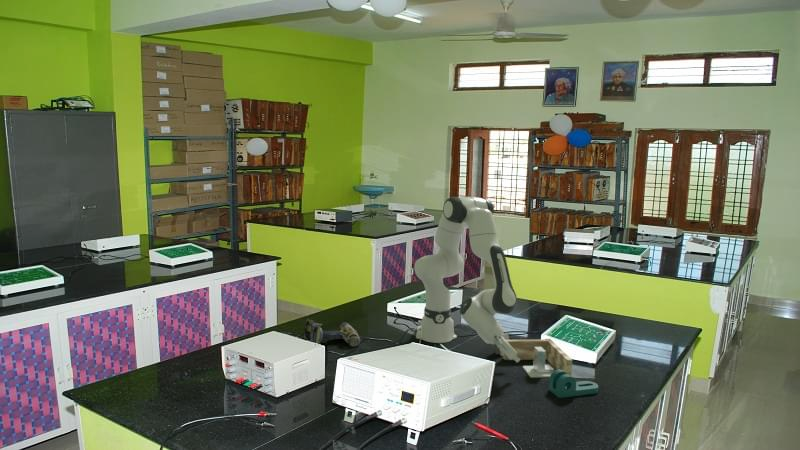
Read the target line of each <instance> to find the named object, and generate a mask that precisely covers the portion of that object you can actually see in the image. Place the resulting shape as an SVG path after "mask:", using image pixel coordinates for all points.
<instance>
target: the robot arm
mask: <svg viewBox="0 0 800 450" xmlns="http://www.w3.org/2000/svg"><path fill="white" fill-rule="evenodd" d="M494 209H495V208H494V204H493V202H492V201H491V200H490V199H488V198H485V197H478V196H451V197H448V198H447V199H446V200H445V201H444V203H443V207H442V214H441V217H440V219H439V222H438V224H437V229H436V232H435V236H434V243H435V244H436V246H437V247H439V251H438V253H436V254H429V255H428V254H427V255H425V256H422V257H420V258H418V259H416V261H415V263H414V268H413V269H414V273H415V275H416V277H417V278H418V279H420V281H422V284H423V286H424V291H425V307H424V310H423V316H422V319H421V320H418V323H417V324H418V326H417V327H416V328H417V329H416V334H415V339H418V340H423V341H424V342H426V343H427V342H428V343H436V344H444V343H449V342H451V341H452V340H455V339H457V337H458V335H457V334H455V331H454V329H455V327H454V323H455V322H454V320H453V318H452V317H451V316H452V315H451V314H452V309H451V297H452V296H451V295H452V294H451V291H450V289H449V288H448V287H446V286H445V284H444V279H445V278H449V277H454V276H456V275H457V276H458V274H460V273H462V272H463V270H464V267H465V262H464V258H463V257H462V255H461V254H460V244H461V241H462V237H463V233H464V229H465V225H467V226H468V234H469V244H470V245H469V246H470V249H471V252H472V253H473V254H474V255H475V256H476V257H477V258H479V259H483V260H485V261H486V262H487V263H488V264H489V265H490V267H491V270H492V271H491V272H492V276H493V281H494V288H488V289H487V288H486V289H483V290H481V291H479V292H478V293H477V294H476V295H474V296H471V297H467V298H465V300H464V301H463V302H462V303H461V305H460V307H459V313H460V315H461V317H462V319H463V320H464V322H466V324H467V325H469V327H470V328H471V329H473V330H474V331H476V333H477V335H478V336H479V337H480V338H481V339H482V340H483V342H485V344H489V345H490V344H491V345H494V344H496V345H497V346H498V347H499V349H500V350H501V351H502V352H503V353H504V354H505V355H506V356H507V357H508V358H509V359H510V360H509V361H515V363H517V364H518V363H519V362H520V361H521V360H520V359H519V357H518V356H517V353H516V351H515V350H514V349H513V348H512V346H511V345H510V344H509V343H508V342H507V341H506V339H505V338H504V337H503V335H504V333H505V332H504V327H503V326H502V325H501V324H500V323H499V322H498V321H497V320H496V319H495V317H494V316H495V314H505V315H507V314H511V313H512V312H513V311H514V310H515V308H516V307H517V302H518V298H517V297H518V296H517V294H516V291H515V290H514V289H515V288H514V286H513V284H512V280H511V275H510V272H509V267H508V266H509V265H508V261H507V259H506V254H505V251H504V250H503V248H502V247H501V246H500V242H499V240H498V239H499V238H498V231H497V225H496V220H495V217H494V212H495V211H494ZM512 359H514V360H512Z"/></svg>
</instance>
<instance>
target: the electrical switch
mask: <svg viewBox="0 0 800 450" xmlns="http://www.w3.org/2000/svg"><path fill="white" fill-rule="evenodd" d="M503 333H504V335H503V337H504V338H505V339H506V340H510V337H509V333H508V332H503ZM493 346H494V350H495V355H499V356H501V357H503V356H504V353H503V352H502V351H501V350H500V349H499V347H498V346H497V345H496V344H493Z"/></svg>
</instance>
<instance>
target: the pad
mask: <svg viewBox="0 0 800 450" xmlns="http://www.w3.org/2000/svg"><path fill="white" fill-rule="evenodd" d="M522 369H523V370H524V371H525V372H526V373H527V375H528V376H529V378H532V379H533V378H550V376H551V374H552V373H536V372H535V370H534V369H533V365H523V366H522Z"/></svg>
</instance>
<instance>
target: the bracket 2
mask: <svg viewBox="0 0 800 450" xmlns="http://www.w3.org/2000/svg"><path fill="white" fill-rule="evenodd" d="M548 382H549V385H548V391H550V392H551V393H552V394H553V395H555V396H556V397H557V398H558V399H560V398H561V399H562V398H570V397H576V396H577V397H578V396H579V397H580V396H586V395H595V394H598V393H599V385H598V383H596V382H594V381H590V380H581V381H576V379H575V378H574V377H573V376H572V375H571V376H570V375H568V374H567V373H566V372H564V371H563V370H560V369H558V370H556V369H554V372H553V373H552V374H551V376H550V377H549V381H548Z"/></svg>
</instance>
